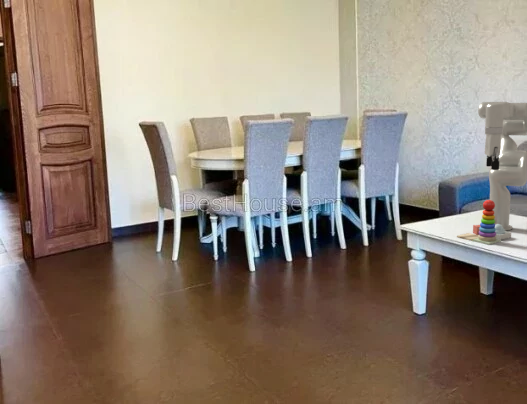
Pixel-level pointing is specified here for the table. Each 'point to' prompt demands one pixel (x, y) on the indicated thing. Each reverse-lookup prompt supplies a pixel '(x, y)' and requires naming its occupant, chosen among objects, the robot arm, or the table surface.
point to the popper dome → (499, 229)
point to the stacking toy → (487, 222)
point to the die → (476, 229)
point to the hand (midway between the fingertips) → (492, 168)
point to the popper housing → (503, 236)
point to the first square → (468, 236)
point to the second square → (487, 241)
